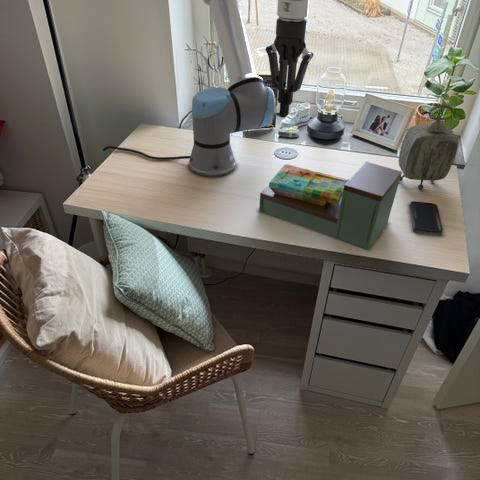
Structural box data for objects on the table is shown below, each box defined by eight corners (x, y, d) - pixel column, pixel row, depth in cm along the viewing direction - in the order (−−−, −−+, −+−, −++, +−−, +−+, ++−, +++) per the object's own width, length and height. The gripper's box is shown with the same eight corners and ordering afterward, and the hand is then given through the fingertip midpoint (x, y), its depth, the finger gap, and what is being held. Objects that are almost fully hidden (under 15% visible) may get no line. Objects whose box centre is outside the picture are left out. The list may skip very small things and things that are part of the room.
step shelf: (259, 210, 137) (261, 159, 126) (283, 189, 146) (288, 139, 135) (368, 249, 125) (382, 196, 113) (387, 223, 134) (402, 171, 122)
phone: (436, 203, 139) (443, 231, 129) (435, 206, 140) (441, 235, 130) (409, 200, 140) (414, 228, 130) (408, 203, 141) (412, 231, 131)
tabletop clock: (435, 179, 152) (463, 99, 134) (444, 193, 146) (475, 112, 128) (392, 178, 152) (414, 99, 134) (399, 193, 146) (423, 111, 128)
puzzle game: (285, 161, 136) (351, 177, 130) (283, 176, 140) (348, 192, 134) (269, 179, 129) (339, 197, 123) (268, 194, 132) (336, 212, 126)
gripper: (261, 17, 114) (257, 114, 131) (309, 25, 109) (298, 125, 126) (276, 10, 119) (270, 106, 135) (322, 18, 114) (310, 116, 131)
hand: (283, 115), depth 131 cm, fingers closed
